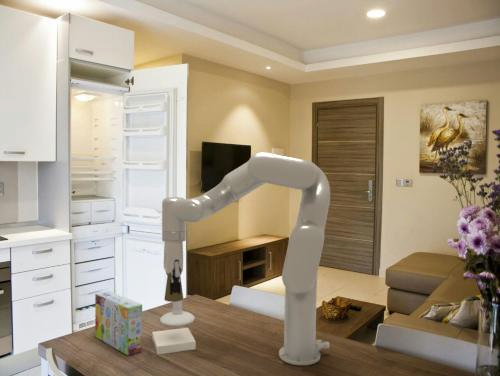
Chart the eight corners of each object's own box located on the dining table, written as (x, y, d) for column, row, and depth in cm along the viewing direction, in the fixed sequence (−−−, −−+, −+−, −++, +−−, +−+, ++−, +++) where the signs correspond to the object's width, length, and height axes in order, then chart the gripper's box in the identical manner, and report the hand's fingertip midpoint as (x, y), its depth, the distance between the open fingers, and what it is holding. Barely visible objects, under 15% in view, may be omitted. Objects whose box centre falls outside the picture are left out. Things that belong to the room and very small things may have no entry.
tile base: (188, 334, 145) (188, 327, 145) (195, 349, 133) (195, 341, 133) (152, 339, 141) (152, 331, 141) (157, 354, 129) (157, 346, 129)
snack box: (143, 351, 132) (143, 303, 131) (127, 357, 128) (127, 308, 127) (109, 332, 146) (109, 289, 145) (94, 337, 142) (93, 293, 141)
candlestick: (199, 315, 163) (199, 238, 162) (187, 327, 151) (187, 244, 149) (168, 312, 166) (168, 237, 165) (154, 324, 154) (153, 242, 152)
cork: (179, 302, 133) (179, 267, 132) (161, 300, 134) (161, 266, 133) (186, 296, 138) (186, 263, 138) (168, 295, 140) (168, 262, 139)
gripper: (158, 232, 142) (158, 286, 143) (166, 241, 126) (166, 301, 127) (180, 231, 144) (180, 284, 145) (191, 239, 129) (190, 299, 130)
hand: (174, 291), depth 136 cm, fingers closed on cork, 3 cm apart
